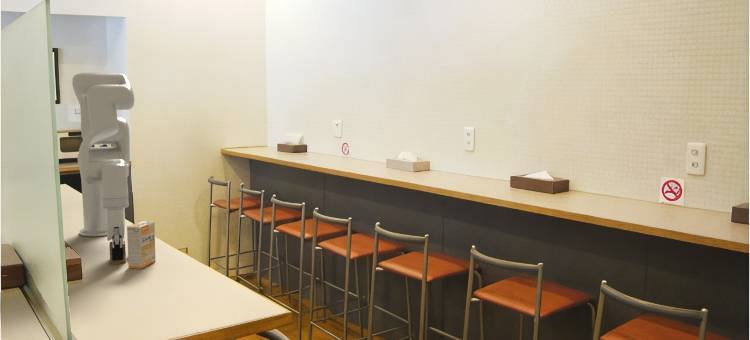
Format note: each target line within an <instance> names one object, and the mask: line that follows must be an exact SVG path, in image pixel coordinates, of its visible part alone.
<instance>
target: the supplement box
mask: <svg viewBox="0 0 750 340" xmlns="http://www.w3.org/2000/svg"><path fill="white" fill-rule="evenodd" d="M155 224H156V222H155V221H152V220H151V221H150V220H147V221H146V220H141V221H138V222H136V223H134V224H131V225H128V226H126V233H127V234H126V235H127V236H126V237H127V262H128V265H127V266H128V268H129V269H140V270H141V269H144V268H145V267H148V266H149V265H151V264H153V263H155V262H156V236H155V235H156V231H155V230H156V229H155V228H156V227H155Z"/></svg>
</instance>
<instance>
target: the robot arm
mask: <svg viewBox="0 0 750 340" xmlns="http://www.w3.org/2000/svg"><path fill="white" fill-rule="evenodd" d="M71 83H72V89H73V92H74V94H75V96H76V99H77V100H78V104H79V108H80V109H79V110H80V129H81V132H80V133H81V138H82V142H80V143H81V144H80V146H79V149H78V154H77V165H78V168H79V173H80V179H81V182H80V183H81V193H82V194H81V195H82V214H83V228H82V229H80V230H79V235H81V236H83V237H103V236H104V237H105V236H106V237H107V239H106V240H107V241H108V242H112V260H113V261H117V260H123V247H122V241H124V239H125V231H126V213H125V210H126V208H128V207H129V206H130V204H129V184H128V182H129V181H128V177H129V175H130V163H131V148H130V147H131V146H130V140H131V139H130V137H131V136H130V127H129V123H128V121H127V120H126V119H125V118H123V117H118V113H117V112H118V111H124V110H131V109H133V107H134V106H135V105H134V104H135V92H134V90H133V87H132V85H131V83H130V81H129V79H128V77H127V75H126V74H124V73H119V72H79V73H76V74H74V75H73V78H72V82H71ZM113 144H114V145H115V146H94V145H113Z"/></svg>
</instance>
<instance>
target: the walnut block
mask: <svg viewBox="0 0 750 340" xmlns="http://www.w3.org/2000/svg"><path fill="white" fill-rule="evenodd" d="M122 247H123V260H117V261H113V260H112V241H109V247H108V248H109V261H110V263H109V264H110V265H116V264H117V265H118V264H126V263H127V257H126V256H127V255H126V253H127V251H126V240H123V241H122Z"/></svg>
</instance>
